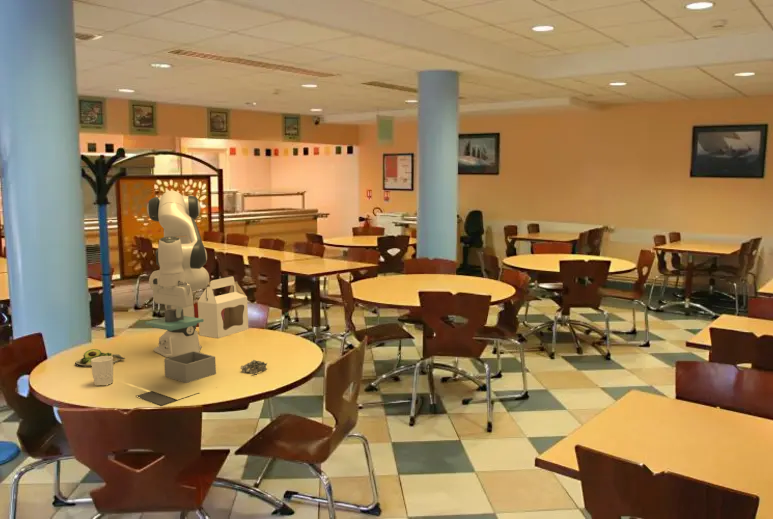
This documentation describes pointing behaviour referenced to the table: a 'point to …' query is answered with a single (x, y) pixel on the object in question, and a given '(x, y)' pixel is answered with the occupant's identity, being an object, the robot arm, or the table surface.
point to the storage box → (190, 366)
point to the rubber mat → (159, 398)
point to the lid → (174, 321)
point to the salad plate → (93, 354)
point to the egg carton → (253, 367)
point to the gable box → (214, 305)
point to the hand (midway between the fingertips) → (174, 316)
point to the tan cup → (102, 370)
